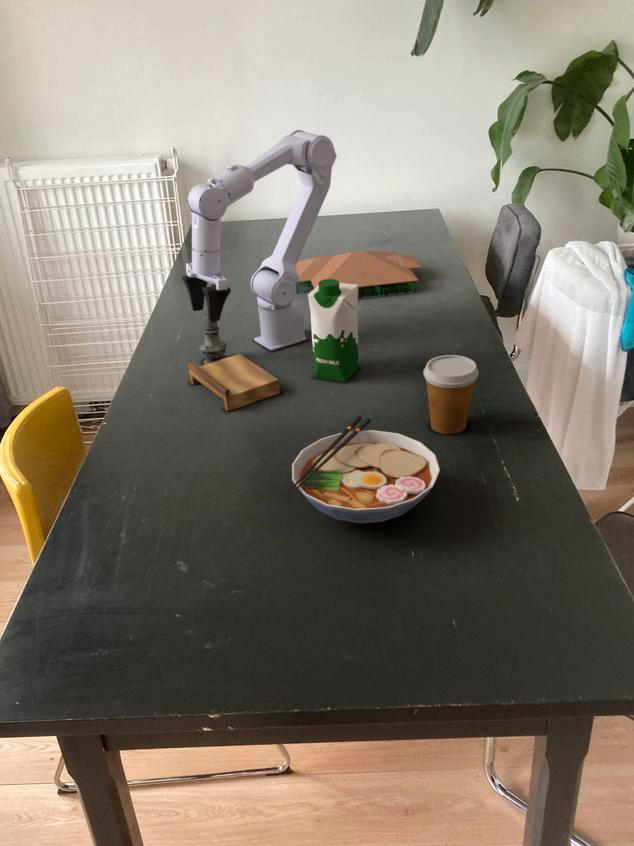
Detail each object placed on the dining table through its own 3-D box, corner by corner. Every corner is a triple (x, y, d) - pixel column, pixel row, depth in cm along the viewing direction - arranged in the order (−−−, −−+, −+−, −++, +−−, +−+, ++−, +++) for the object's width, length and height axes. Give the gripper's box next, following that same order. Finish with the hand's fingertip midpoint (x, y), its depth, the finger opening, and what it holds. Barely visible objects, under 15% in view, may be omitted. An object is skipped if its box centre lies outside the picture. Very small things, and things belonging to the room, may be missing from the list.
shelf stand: (240, 366, 173) (238, 347, 170) (279, 393, 162) (278, 372, 159) (190, 383, 168) (187, 363, 165) (227, 411, 157) (224, 390, 154)
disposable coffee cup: (478, 416, 149) (483, 356, 142) (470, 441, 142) (474, 380, 135) (427, 410, 152) (429, 351, 145) (416, 435, 145) (418, 374, 138)
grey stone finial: (224, 367, 173) (217, 314, 166) (198, 366, 174) (190, 313, 167) (231, 355, 177) (225, 303, 170) (206, 355, 179) (199, 303, 172)
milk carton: (308, 379, 166) (302, 284, 154) (326, 361, 172) (321, 269, 161) (348, 385, 162) (345, 289, 151) (364, 366, 169) (362, 272, 157)
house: (428, 291, 201) (429, 259, 197) (298, 306, 199) (296, 273, 194) (407, 262, 220) (407, 232, 215) (287, 275, 218) (285, 244, 213)
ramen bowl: (394, 572, 114) (394, 526, 110) (262, 528, 125) (257, 484, 120) (464, 485, 131) (467, 441, 126) (342, 452, 142) (340, 411, 137)
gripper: (172, 242, 165) (173, 307, 172) (205, 259, 155) (204, 327, 162) (203, 240, 169) (203, 304, 176) (237, 256, 159) (235, 323, 166)
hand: (205, 315), depth 169 cm, fingers open, 7 cm apart
